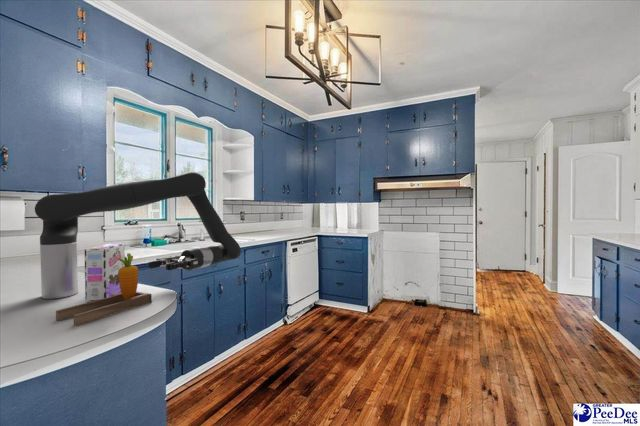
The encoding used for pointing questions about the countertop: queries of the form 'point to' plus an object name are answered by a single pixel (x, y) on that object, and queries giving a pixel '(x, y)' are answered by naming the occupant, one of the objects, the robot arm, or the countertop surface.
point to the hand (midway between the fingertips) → (157, 266)
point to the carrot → (128, 278)
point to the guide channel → (102, 307)
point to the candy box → (103, 271)
